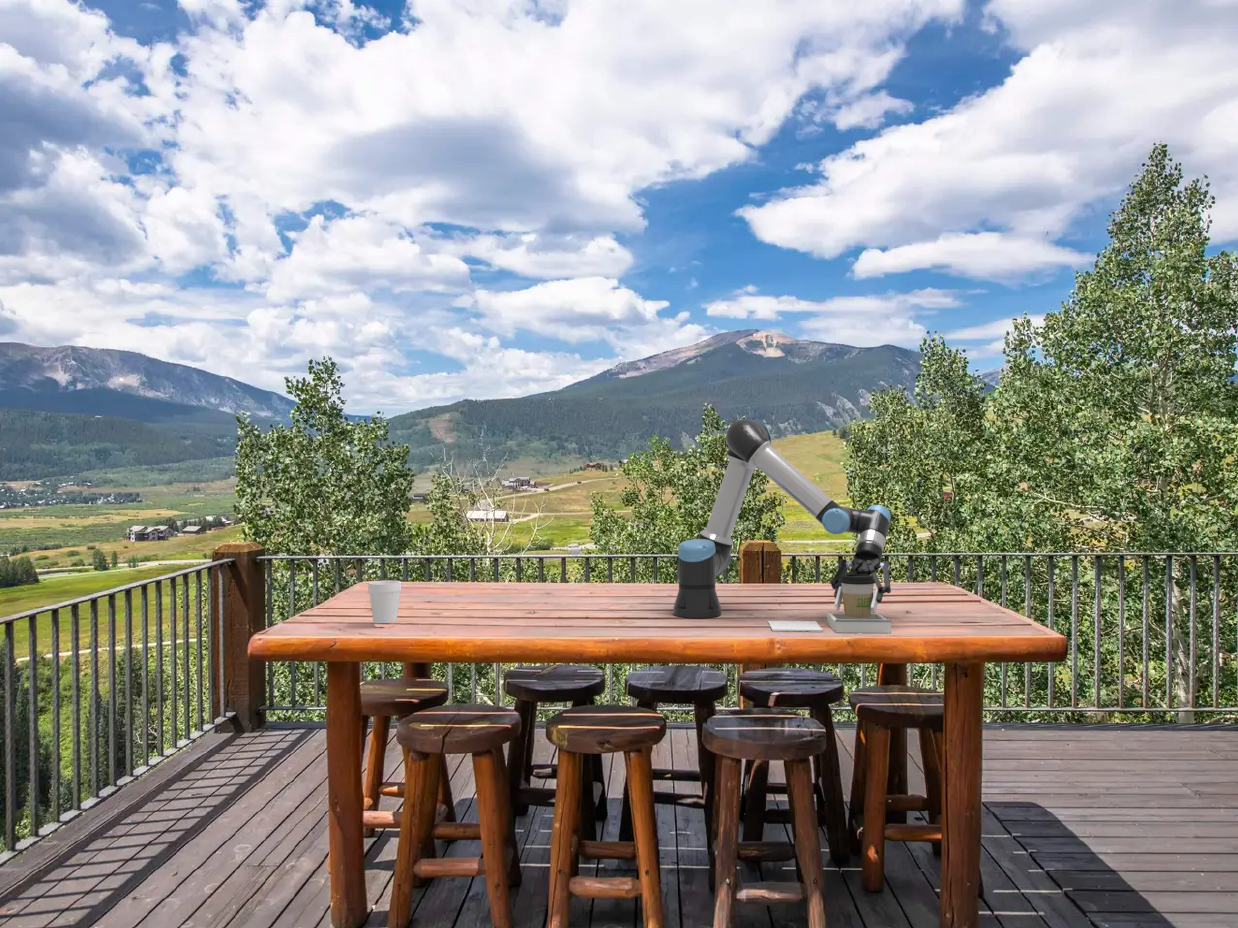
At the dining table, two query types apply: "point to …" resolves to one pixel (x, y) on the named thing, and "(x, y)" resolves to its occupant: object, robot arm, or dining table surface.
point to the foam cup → (384, 600)
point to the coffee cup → (857, 595)
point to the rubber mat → (795, 626)
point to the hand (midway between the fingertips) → (854, 608)
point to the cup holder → (859, 624)
